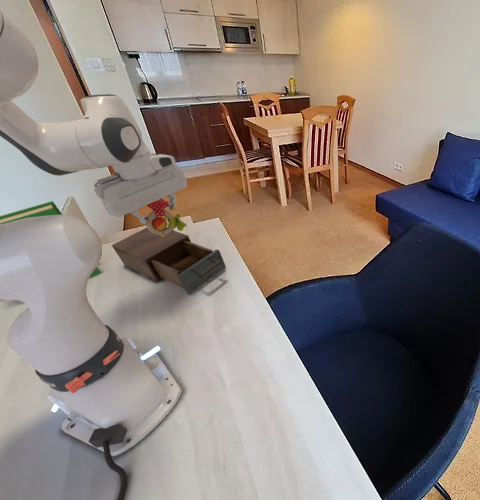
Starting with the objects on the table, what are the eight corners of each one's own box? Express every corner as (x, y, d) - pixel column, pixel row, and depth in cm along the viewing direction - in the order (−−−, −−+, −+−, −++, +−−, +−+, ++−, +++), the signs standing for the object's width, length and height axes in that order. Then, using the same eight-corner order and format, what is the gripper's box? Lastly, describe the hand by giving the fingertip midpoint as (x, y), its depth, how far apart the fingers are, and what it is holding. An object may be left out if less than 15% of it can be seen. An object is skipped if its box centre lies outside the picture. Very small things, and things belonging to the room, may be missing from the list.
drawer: (237, 271, 92) (230, 253, 89) (200, 300, 83) (190, 281, 80) (190, 253, 103) (182, 236, 99) (153, 276, 94) (142, 259, 90)
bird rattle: (172, 246, 85) (194, 221, 88) (138, 222, 76) (163, 195, 79) (162, 240, 88) (183, 216, 91) (127, 216, 79) (152, 191, 82)
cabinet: (198, 256, 103) (188, 235, 98) (157, 282, 93) (144, 260, 88) (165, 243, 112) (154, 223, 107) (125, 266, 102) (111, 245, 97)
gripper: (96, 184, 66) (128, 237, 74) (179, 155, 80) (198, 202, 88) (83, 180, 69) (115, 231, 77) (165, 152, 83) (185, 198, 91)
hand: (160, 215), depth 83 cm, fingers closed on bird rattle, 7 cm apart
